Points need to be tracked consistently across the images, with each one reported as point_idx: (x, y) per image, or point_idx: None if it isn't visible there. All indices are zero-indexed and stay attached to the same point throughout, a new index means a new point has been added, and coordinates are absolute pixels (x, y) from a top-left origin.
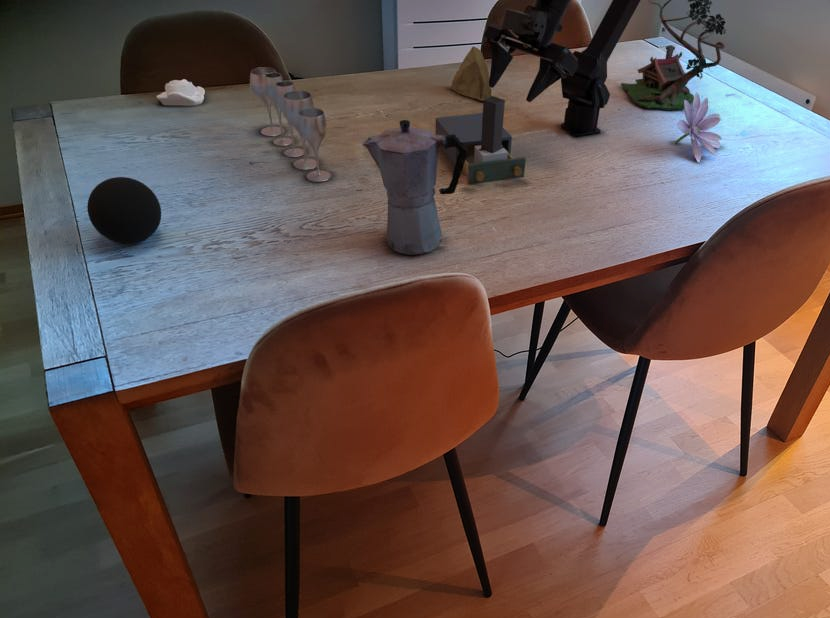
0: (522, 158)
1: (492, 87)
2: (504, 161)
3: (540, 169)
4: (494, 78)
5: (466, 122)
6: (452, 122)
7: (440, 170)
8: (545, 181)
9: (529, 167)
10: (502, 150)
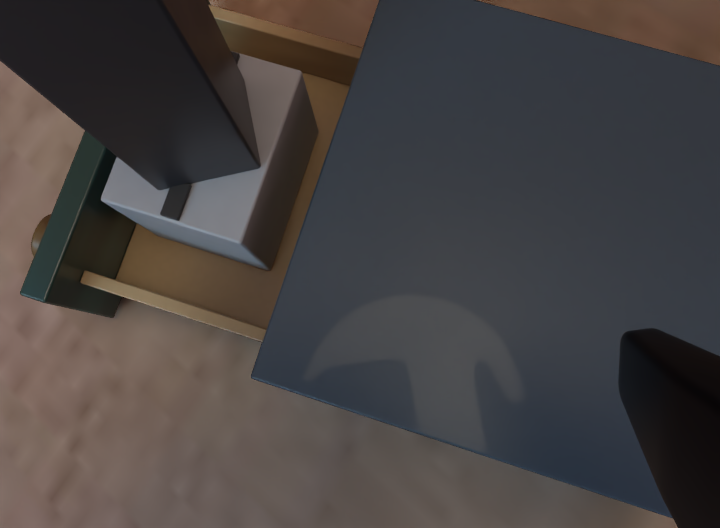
0: (30, 273)
1: (618, 379)
2: (77, 151)
3: (162, 519)
4: (672, 416)
5: (650, 244)
6: (703, 154)
7: None
8: (41, 436)
9: (220, 480)
10: (137, 184)
